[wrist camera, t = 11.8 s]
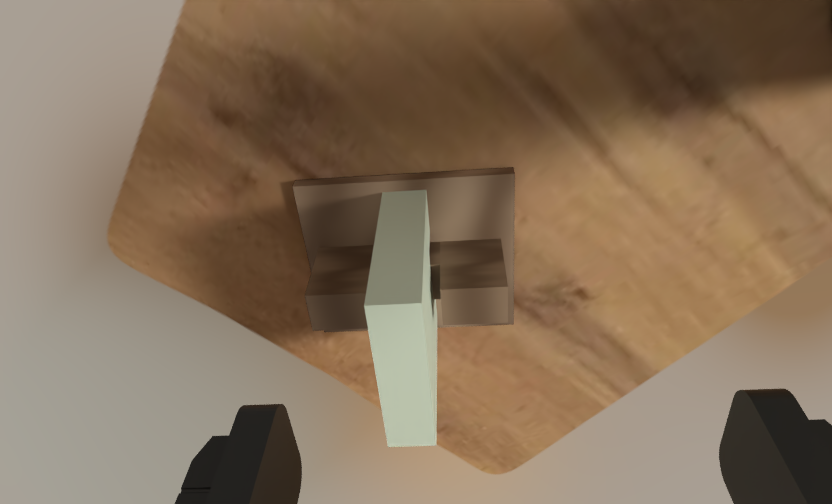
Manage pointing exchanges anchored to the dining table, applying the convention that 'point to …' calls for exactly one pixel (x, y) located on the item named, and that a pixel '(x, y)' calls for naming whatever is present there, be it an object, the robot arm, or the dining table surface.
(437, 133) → the dining table surface
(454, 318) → the slot plate
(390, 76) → the dining table surface
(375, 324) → the upright sage green panel
